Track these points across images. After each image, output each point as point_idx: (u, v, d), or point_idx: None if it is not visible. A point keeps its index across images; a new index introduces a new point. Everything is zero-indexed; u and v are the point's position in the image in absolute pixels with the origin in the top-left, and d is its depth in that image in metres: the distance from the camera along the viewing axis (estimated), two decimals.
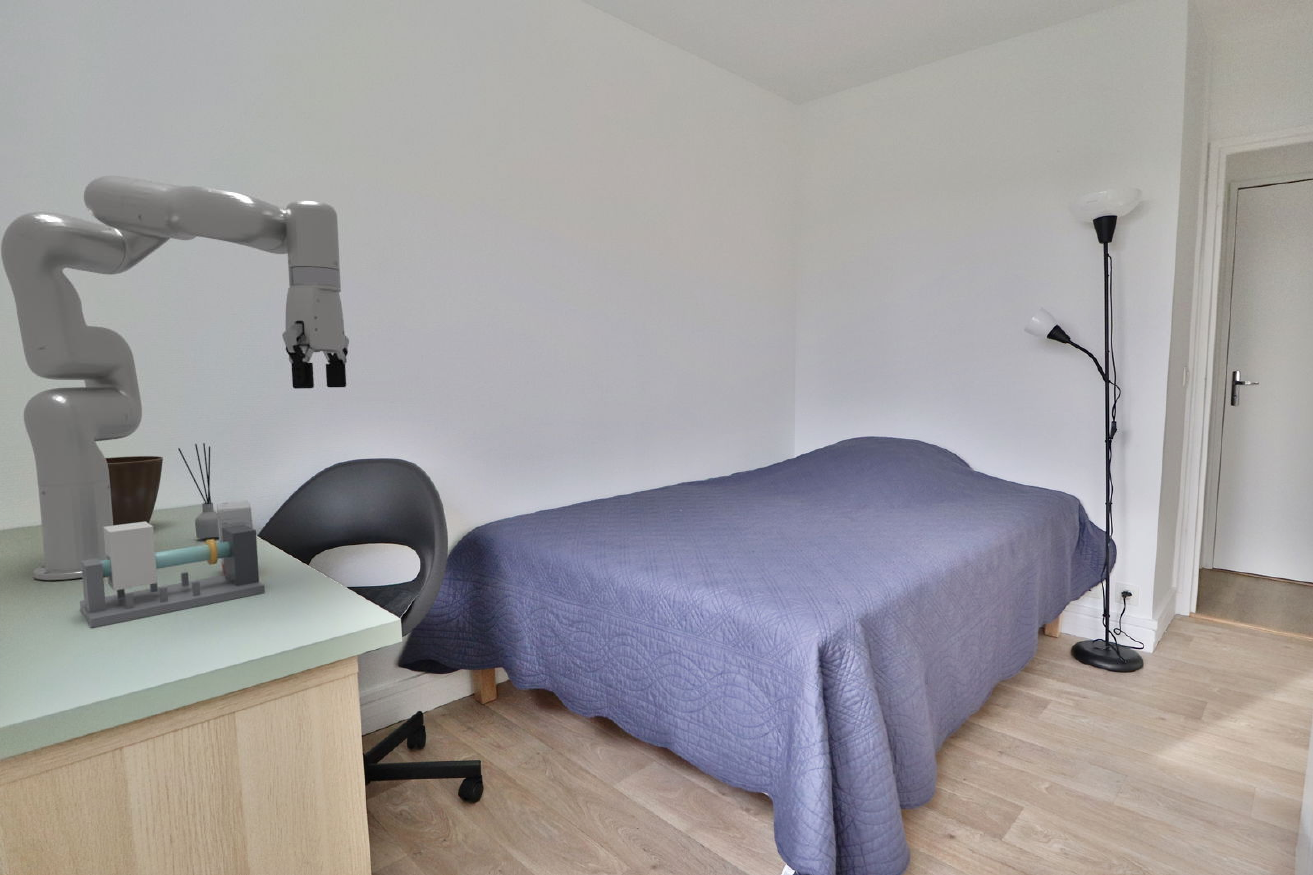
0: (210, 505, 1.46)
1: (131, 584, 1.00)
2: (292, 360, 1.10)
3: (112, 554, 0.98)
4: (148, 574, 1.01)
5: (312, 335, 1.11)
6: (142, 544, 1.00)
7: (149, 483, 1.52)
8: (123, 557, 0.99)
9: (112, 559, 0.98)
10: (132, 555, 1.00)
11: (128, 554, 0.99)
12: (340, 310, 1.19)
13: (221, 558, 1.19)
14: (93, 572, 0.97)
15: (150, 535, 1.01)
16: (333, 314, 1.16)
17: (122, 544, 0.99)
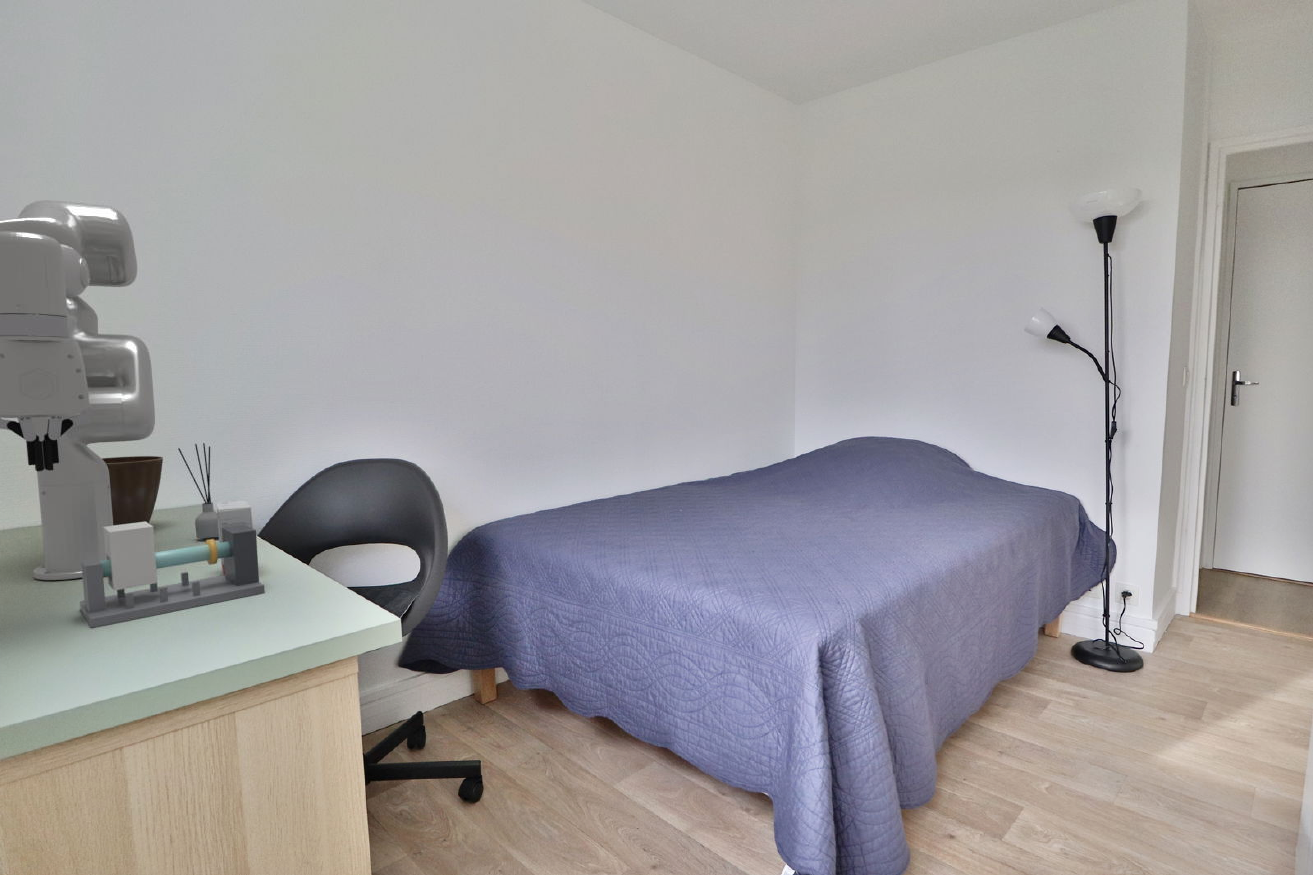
0: (210, 505, 1.46)
1: (131, 584, 1.00)
2: (59, 437, 0.95)
3: (112, 554, 0.98)
4: (148, 574, 1.01)
5: None
6: (142, 544, 1.00)
7: (149, 483, 1.52)
8: (123, 557, 0.99)
9: (112, 559, 0.98)
10: (132, 555, 1.00)
11: (128, 554, 0.99)
12: None
13: (221, 558, 1.19)
14: (93, 572, 0.97)
15: (150, 535, 1.01)
16: None
17: (122, 544, 0.99)
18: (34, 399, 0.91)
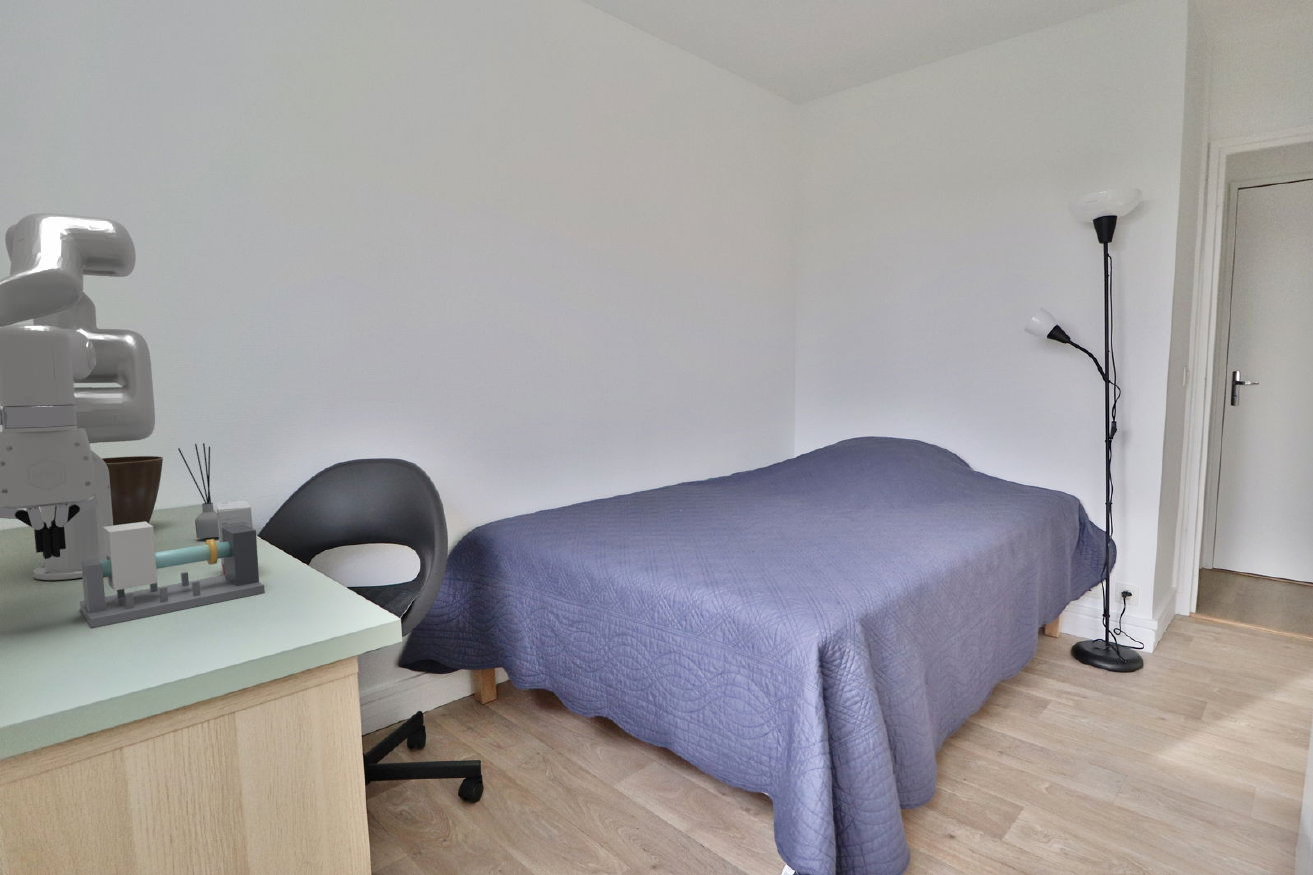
0: (210, 505, 1.46)
1: (131, 584, 1.00)
2: (66, 523, 0.96)
3: (112, 554, 0.98)
4: (148, 574, 1.01)
5: None
6: (142, 544, 1.00)
7: (149, 483, 1.52)
8: (123, 557, 0.99)
9: (112, 559, 0.98)
10: (132, 555, 1.00)
11: (128, 554, 0.99)
12: None
13: (221, 558, 1.19)
14: (93, 572, 0.97)
15: (150, 535, 1.01)
16: None
17: (122, 544, 0.99)
18: (42, 489, 0.92)
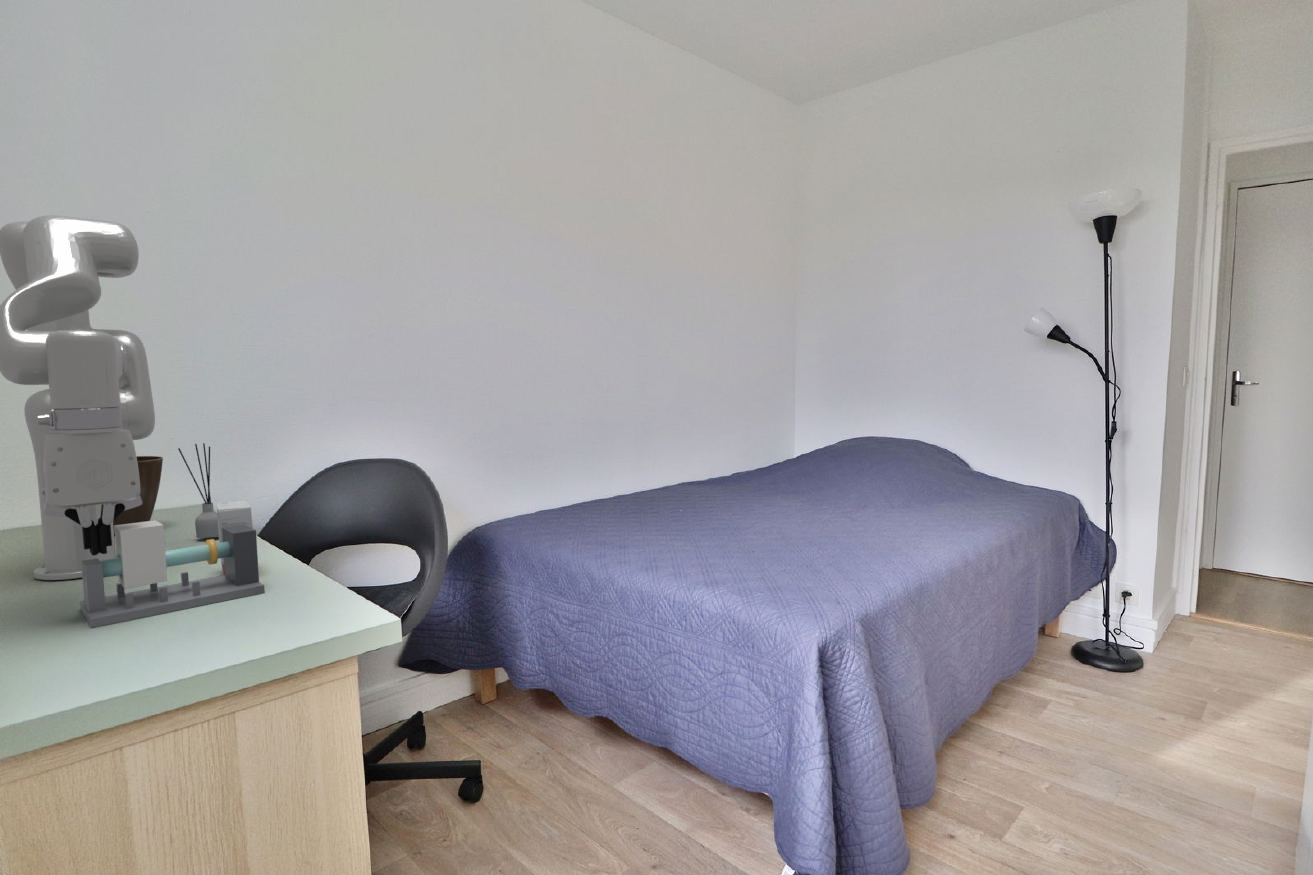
0: (210, 505, 1.46)
1: (142, 582, 1.01)
2: (112, 521, 0.99)
3: (123, 552, 0.99)
4: (158, 572, 1.02)
5: None
6: (153, 543, 1.01)
7: (149, 483, 1.52)
8: (134, 555, 1.00)
9: (123, 557, 0.99)
10: (143, 554, 1.01)
11: (138, 553, 1.00)
12: None
13: (221, 558, 1.19)
14: (93, 572, 0.97)
15: (160, 534, 1.02)
16: None
17: (132, 542, 1.00)
18: (90, 488, 0.96)
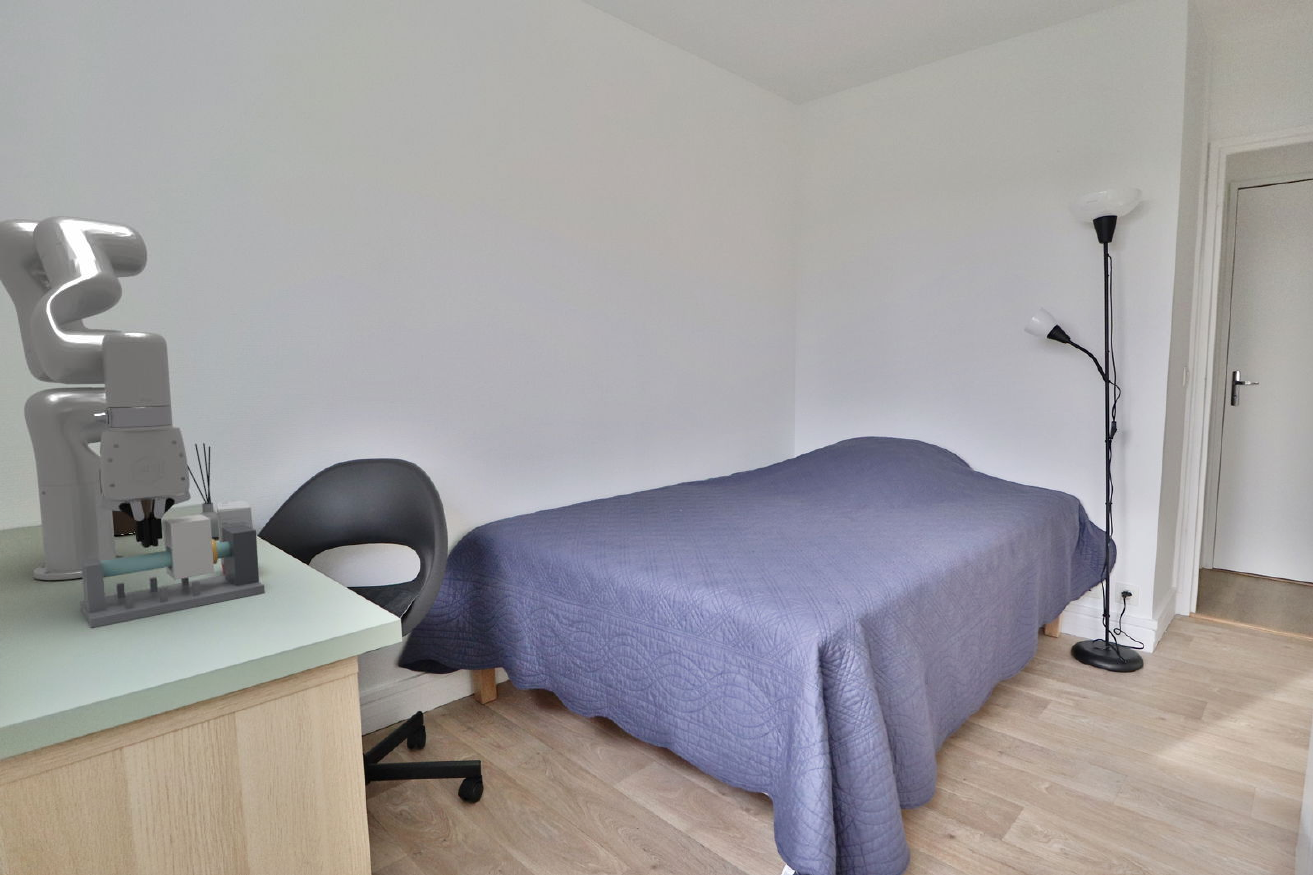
0: (210, 505, 1.46)
1: (190, 574, 1.05)
2: None
3: (173, 545, 1.03)
4: (206, 564, 1.06)
5: None
6: (200, 536, 1.05)
7: None
8: (183, 548, 1.04)
9: (173, 550, 1.03)
10: (191, 546, 1.05)
11: (187, 545, 1.04)
12: None
13: (221, 558, 1.19)
14: (93, 572, 0.97)
15: (208, 527, 1.06)
16: None
17: (182, 535, 1.04)
18: (143, 483, 1.00)
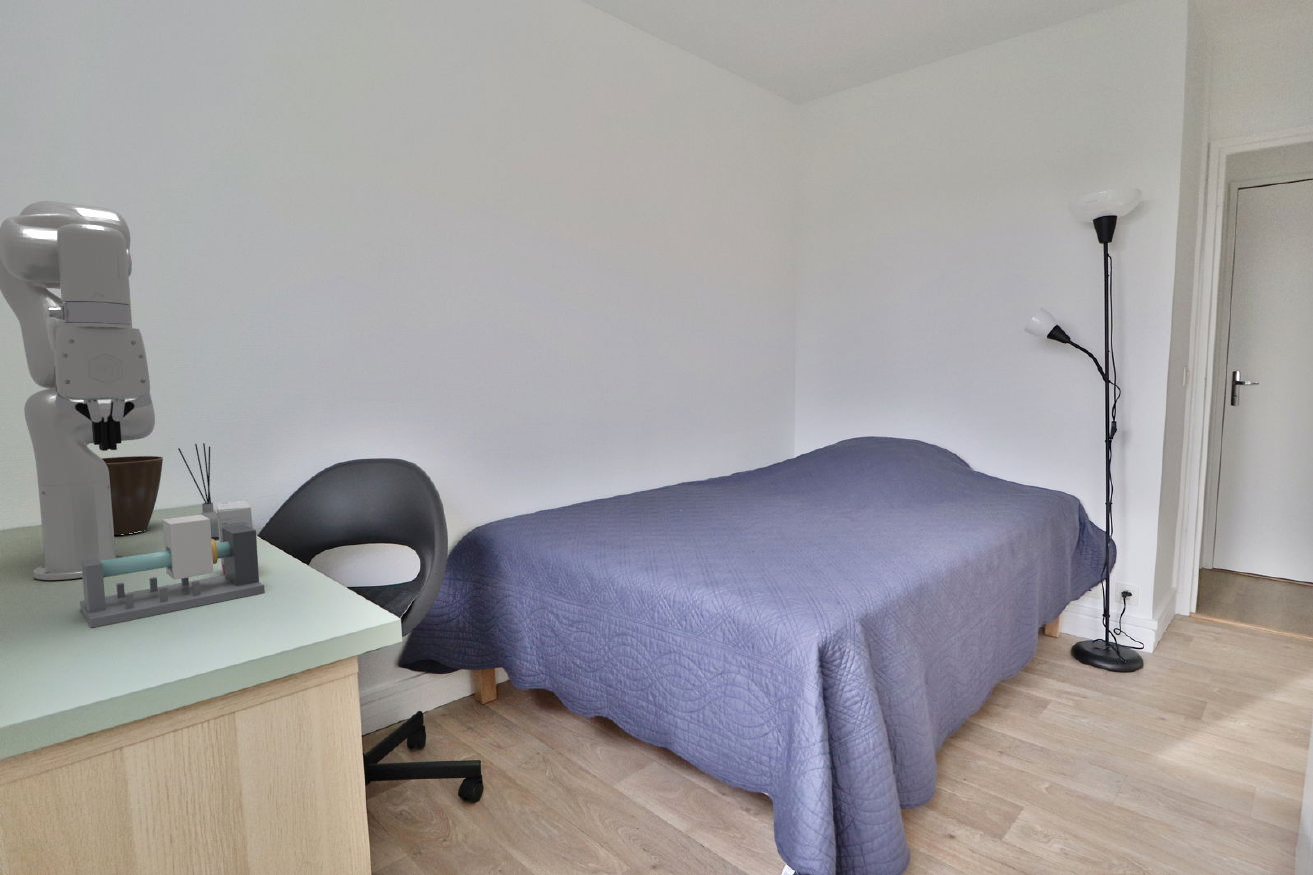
0: (210, 505, 1.46)
1: (190, 574, 1.05)
2: (122, 418, 1.00)
3: (173, 545, 1.03)
4: (205, 564, 1.06)
5: None
6: (200, 536, 1.05)
7: (149, 483, 1.52)
8: (183, 548, 1.04)
9: (173, 550, 1.03)
10: (191, 547, 1.05)
11: (187, 545, 1.04)
12: None
13: (221, 558, 1.19)
14: (93, 572, 0.97)
15: (207, 527, 1.06)
16: None
17: (181, 535, 1.04)
18: (101, 382, 0.97)
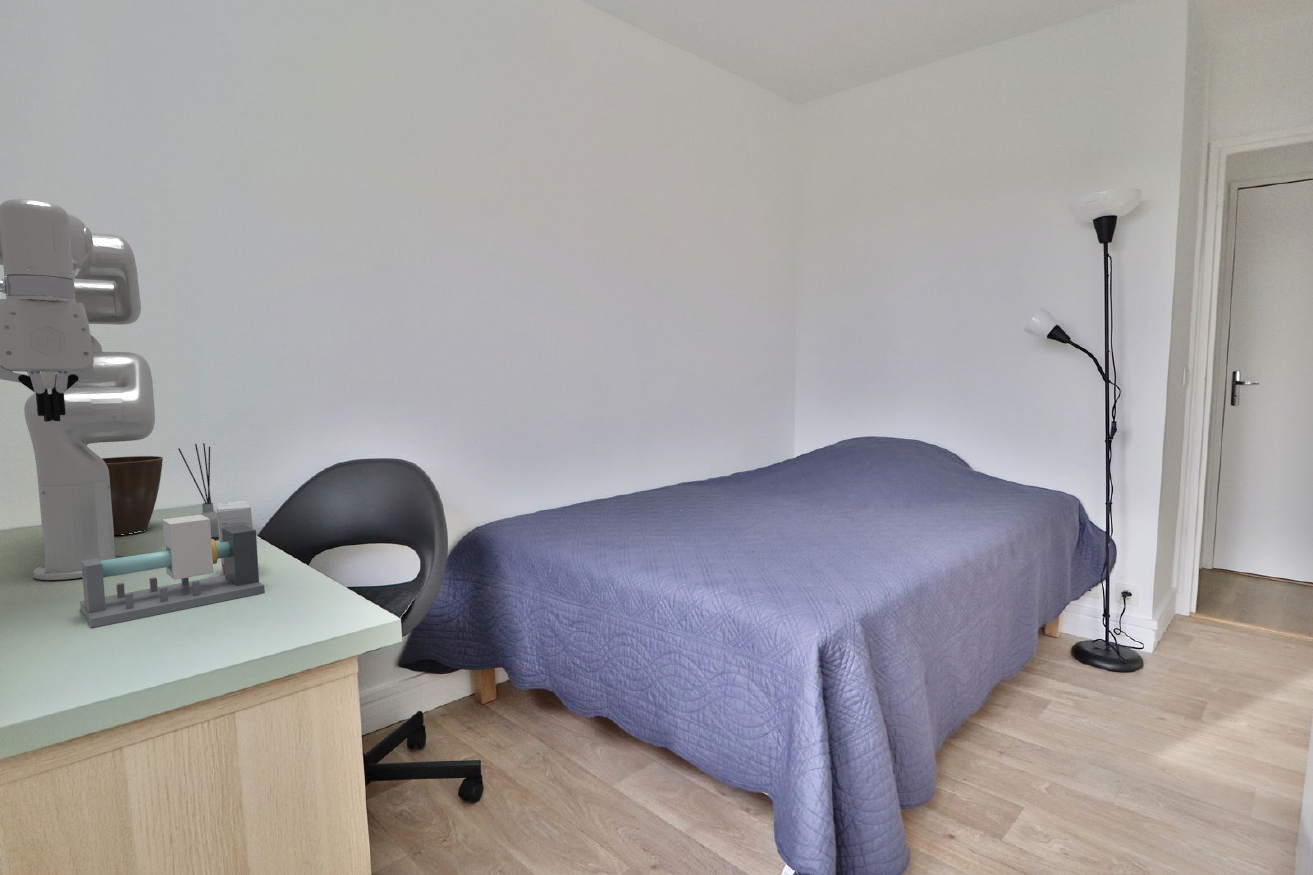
0: (210, 505, 1.46)
1: (190, 574, 1.05)
2: (66, 390, 1.03)
3: (173, 545, 1.03)
4: (205, 564, 1.06)
5: None
6: (200, 536, 1.05)
7: (149, 483, 1.52)
8: (183, 548, 1.04)
9: (173, 550, 1.03)
10: (191, 547, 1.05)
11: (187, 545, 1.04)
12: None
13: (221, 558, 1.19)
14: (93, 572, 0.97)
15: (207, 527, 1.06)
16: None
17: (181, 535, 1.04)
18: (43, 354, 0.99)
